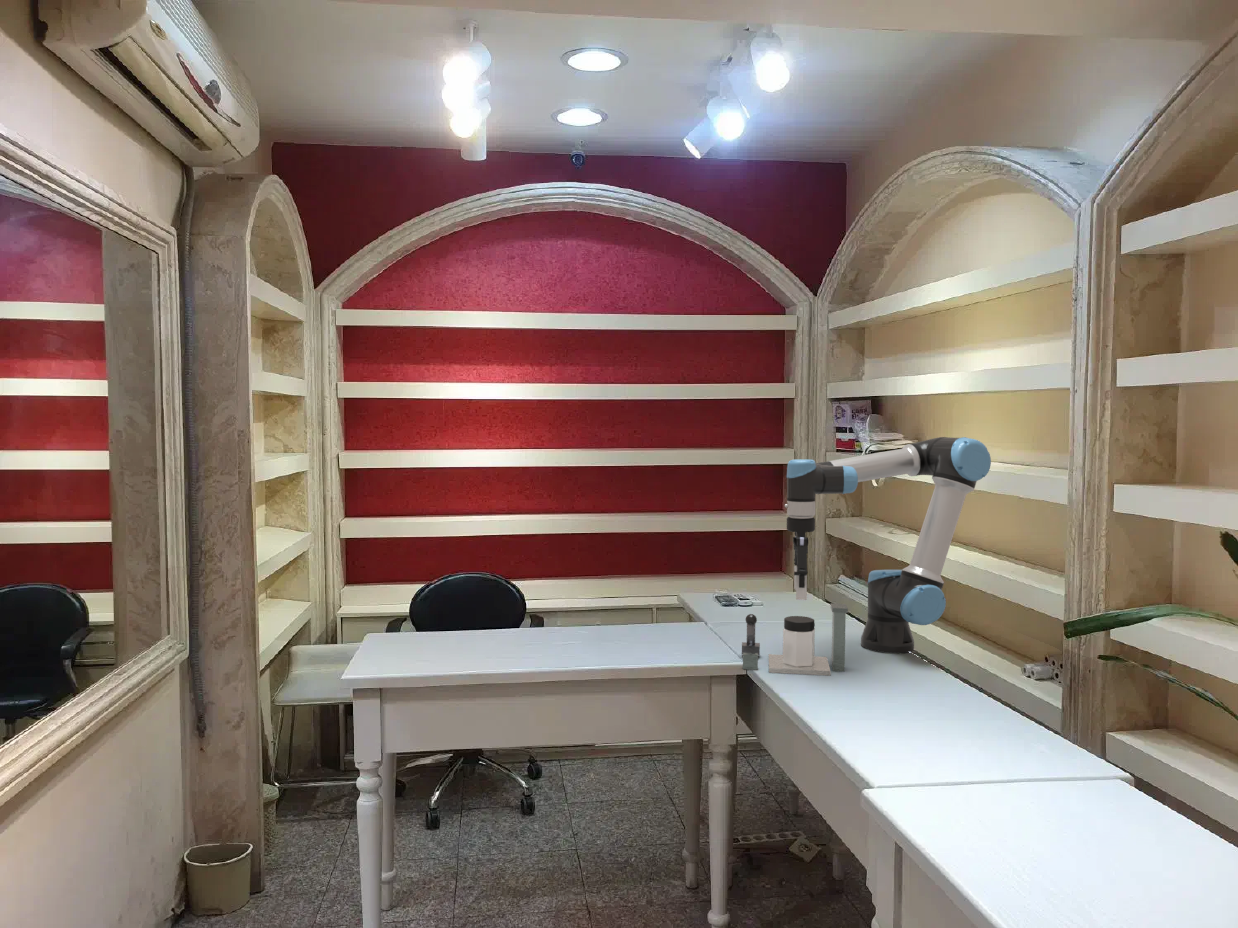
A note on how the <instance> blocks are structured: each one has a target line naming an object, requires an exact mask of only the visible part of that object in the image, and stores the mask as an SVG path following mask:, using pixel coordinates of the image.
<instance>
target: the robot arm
mask: <svg viewBox="0 0 1238 928" xmlns="http://www.w3.org/2000/svg"><path fill="white" fill-rule="evenodd" d="M991 457H992V456H991V454H990V452H989V449H988V448H987V447H986V445H985V444H984V443H983V442H981V441H980V440H979V439H974V438H970V437H963V436H962V437H951V436H950V437H946V436H941V437H934V438H930V439H926V440H921V441H917V442H912V443H908V444H905V445H904V446H903V447H902V448H899V449H898V448H897V449H892V450H887V451H880V452H874V453H869V454H863V455H857V456H852V457H846V458H840V459H839V458H838V459H833V460H828V461H822V462H816V461H815V460H814V459H805V458H804V459H800V458H799V459H798V458H797V459H796V458H795V459H791V460H789V461H788V463H787V467H786V468H787V469H786V502H787V503H785V504H784V507H785V508H786V515H787V516H788V517H787V518H786V530H787V532H791V533H794V536H793V537H792V543H793V550H794V559H793V561H794V562H793V564H794V566H793V567H794V569H793V571H794V573H793V580H794V581H793V585H794V586H793V589H794V590H796V591H795V593H796V594H795V596H796V597H795V599H796V600H800V601H802V600H803V601H806V600H808V599H807V598H808V597H807V596H808V594H807V593H808V592H807V589H808V556H807V555H808V553H809V552H808V550H809V548H808V546H809V538H808V537H807V536H806V533H812V532H814V531H815V530H816V518H815V516H816V495H834V494H835V495H837V494H839V495H840V494H841V495H845V494H852V493H854V492H855V491H856V490H857V487H858V485H859V483H861V482H867V481H872V480H878V479H883V478H884V479H885V478H891V477H897V476H903V475H908V476H909V477H916V476H931V480H932V481H933V483H934V489H933V492H932V496H931V498H930V502H929V503H928V507H927V511H926V514H925V517H924V520H923V522H922V526H921V529H920V531H919V532H920V533H919V535H918V538H917V541H916V544H915V547H914V551H913V553H912V555H911V556H912V557H911V560H910V563H909V565H908V566H906V567H903V568H902V569H875V570H871V571H870V572H869V573H868V578H867V579H868V580H867V618H866V619H867V620H866V624H865V626H864V628H863V631H862V634H861V637H860V646H861V647H863V648H864V649H866V650H869V651H874V652H878V653H879V652H880V653H885V654H889V653H890V654H900V653H901V654H902V653H909V652H912V651H914V650H915V640H914V636H913V633H912V630H911V627H910V624H909V623H911V624H913V625H918V626H928V625H930V624H933V623H934V622H937V621H938V620H939V619H940V618H941V617H942V615H943V614H944V612H945V610H946V606H947V605H946V604H947V602H946V600H947V599H946V598H945V593H944V592H943V587H944V583H945V582H944V580H943V578H942V572H943V568H944V566H945V563H946V560H947V556H948V553H949V549H950V546H951V543H952V540H953V537H954V534H955V531H956V529H957V528H956V527H957V525H958V522H959V519H960V516H961V512H962V510H963V505H964V502H965V501H966V496H967V495H968V494H969V493H971V492H973V491H974V490H975V487H976V485H977V483H978V481H980V480H982V479H983V478H985V477H986V476H987V475H988V473H989V471H990V469H991V464H992V458H991Z"/></svg>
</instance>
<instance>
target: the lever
mask: <svg viewBox="0 0 1238 928" xmlns="http://www.w3.org/2000/svg"><path fill="white" fill-rule="evenodd" d="M757 622H758V619H757V616H756V615H755V614H752V613H749V614H747V616H745V623H746V642H744V641H742V642H741V655H743V653H758V656H760V654H761V653H760V651H761V647H760V646H761V644H760V642H756V623H757Z"/></svg>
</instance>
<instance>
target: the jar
mask: <svg viewBox="0 0 1238 928" xmlns="http://www.w3.org/2000/svg"><path fill="white" fill-rule="evenodd" d="M815 627H816V625H815V619H814V618H813V617H809V616H803V615H802V616H801V615H790V616H786V617H784V619H783V629H782V630H783V631H782V641H783V642H782V655H783V663H784V664H788V665H791V666H795V667H802V666H812V664H813V663H814V656H815V646H816V645H815V637H816V634H815V633H816V628H815Z"/></svg>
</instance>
